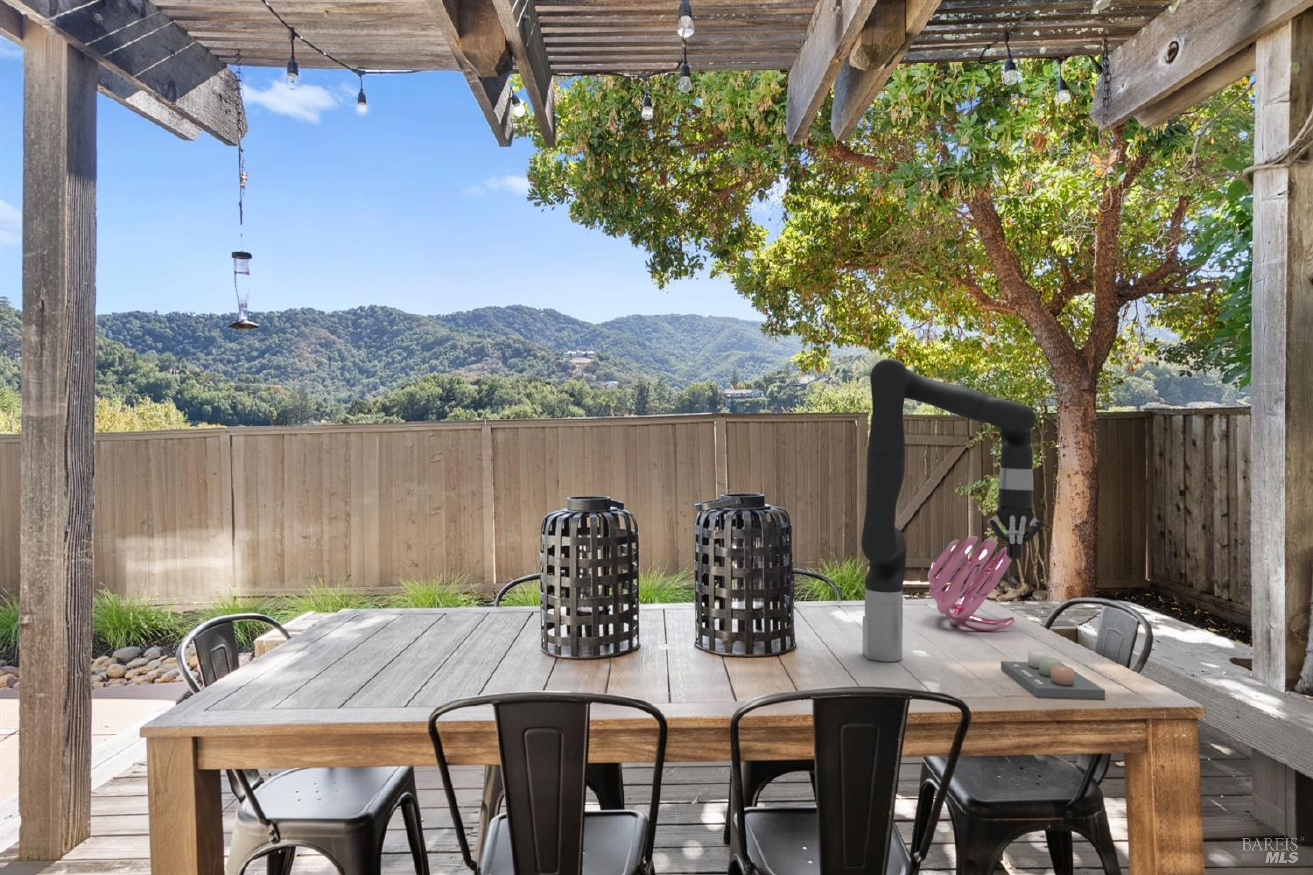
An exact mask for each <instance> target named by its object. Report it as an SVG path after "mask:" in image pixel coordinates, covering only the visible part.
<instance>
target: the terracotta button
mask: <svg viewBox="0 0 1313 875" xmlns="http://www.w3.org/2000/svg"><path fill="white" fill-rule="evenodd" d="M1074 671H1075V670H1074V668H1072V667H1071V666H1068V665H1065V666H1062V665H1053V666H1051V681H1052V682H1054V683H1056V684H1061V685H1073V684H1074Z"/></svg>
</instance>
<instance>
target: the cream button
mask: <svg viewBox="0 0 1313 875" xmlns="http://www.w3.org/2000/svg"><path fill="white" fill-rule="evenodd" d="M1039 658H1050V654H1049V652H1046V651H1043V650H1033V649H1032V650H1028V651H1027V662H1028V665H1029V666H1031V667H1034V668H1039Z"/></svg>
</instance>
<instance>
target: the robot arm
mask: <svg viewBox="0 0 1313 875" xmlns="http://www.w3.org/2000/svg"><path fill="white" fill-rule="evenodd" d="M869 382H870V388H871V401H872V403H871V405H872V406H871V407H872V411H871V412H872V414H871V424H870V429H869V435H868V442H867V452H866V454H867V455H866V482H865V483H866V486H865V487H866V488H865V489H866V491H865V492H866V494H865V496H866V498H865V499H866V505H865V515H864V522H863V528H862V533H861V534H862V535H861V549H862V553H863V555H864V556H865V558H866V559H867V560H868V561H869V566H868V571H867V574H866V576H865V578H864V615H863V616H862V654H863V656H865V658H866V660H873V661H878V662H887V663H889V662H891V663H892V662H898V661H902V659H903V650H904V649H903V623H904V622H903V621H904V620H903V616H904V615H903V602H904V600H903V597H904V592H903V590H904V581H905V577H906V565H907V562H906V560H907V544H906V543H907V542H906V538H905V536H904V534H903V532H902V531H901V530H900V529H899V528H898V527H897V526H896V508H897V502H898V499H899V496H900V493H901V490H902V485H903V484H904V483H903V482H904V478H905V471H906V470H905V469H906V439H905V438H906V437H905V436H906V435H905V429H904V428H905V427H904V407H905V406H904V405H905V399H907V400H912V401H916V402H919V403H923V404H927V405H928V406H929V405H930V406H933V407H935V408H938V409H941V410H942V411H946V412H947V413H951V414H954V415H957V416H959V417H962V418H965V419H966V418H967V419H968V420H972V421H975V422H979V423H984V424H989V425H991V426H995V427H997V428H999V429H1000V441H1001V450H1000V469H999V475H998V483H997V485H998V493H997V494H998V496H997V497H998V498H997V510H996V512H995V515H994V516H993V517H991V518H987V520H986V524H987V525H988V526H989V528H991V530H992V532H993V533H994V534H995V536H996V537H997V538H998V539H999V540H1001V541H1003V542H1005V543H1006V547H1007V548H1006V554H1007V556H1008V557H1009V559H1012V560H1019V558H1020V557H1021V555H1022V544H1023V543H1029V542H1030V541H1031V540H1032V539H1033V538H1034V536H1035V535H1036V534H1037V533H1038V532H1039V531H1040V530H1041V529H1042V527H1043V526H1044V522H1042V521H1039V520H1038V519H1037V518H1036V517H1035V513H1034V511H1033V505H1034V504H1033V503H1034V474H1033V466H1034V465H1033V463H1034V462H1033V461H1034V459H1033V458H1034V455H1033V454H1034V452H1033V448H1032V444H1031V442H1032V440H1031V439H1032V429H1033V428H1034V427H1035V424H1036V421H1037V418H1036V414H1035V411H1034V410H1033V409H1032V408H1031V407H1029V406H1028V405H1025V404H1023V403H1019V402H1015V401H1011V400H1008V399H1003V398H999V397H995V396H992V395H990V394H987V393H984V392H981V391H978V390H975V389H972V388H968V387H966V386H965V387H964V386H961V385H957V384H952V383H947V382H943V381H939V380H936V379H935V380H934V379H932V378H928V377H925V376H923V375H921V374H918V373H916V372H914V371H911V370H910V369H908V368H906V366H905V364H904V363H903V362H901V361H900V360H898V359H896V358H885V359H881V360H879V361H878V362H876V363H875V365H874V366H873V368H872V369H871V372H870V374H869ZM1000 523H1001V526H1003V528H1004V531H1003V530H1002V529H1001V527H1000ZM1028 525H1029V527H1028ZM1027 527H1028V528H1027ZM1026 528H1027V529H1026ZM1025 529H1026V531H1025Z"/></svg>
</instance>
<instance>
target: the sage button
mask: <svg viewBox="0 0 1313 875" xmlns="http://www.w3.org/2000/svg"><path fill="white" fill-rule="evenodd" d="M1061 663H1062V661H1061V660H1060V659H1057V658H1053V657H1049V658H1039V673H1040V674H1042V675H1046V676H1051V666H1053V665H1061Z"/></svg>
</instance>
